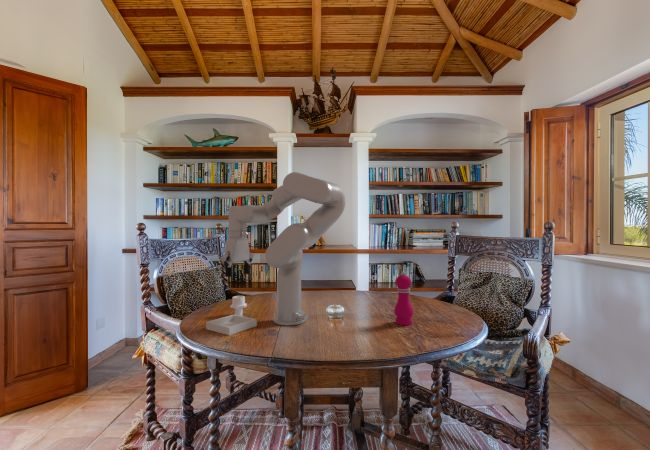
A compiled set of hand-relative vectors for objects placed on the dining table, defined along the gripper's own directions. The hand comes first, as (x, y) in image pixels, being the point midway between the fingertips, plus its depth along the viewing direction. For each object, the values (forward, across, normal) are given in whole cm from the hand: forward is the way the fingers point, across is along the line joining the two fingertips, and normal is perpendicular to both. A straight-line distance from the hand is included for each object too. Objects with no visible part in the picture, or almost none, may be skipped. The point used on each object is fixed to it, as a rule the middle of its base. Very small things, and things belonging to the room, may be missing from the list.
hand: (237, 275), depth 145 cm
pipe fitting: (+17, 0, 0) cm, 17 cm away
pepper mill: (+17, -27, +64) cm, 71 cm away
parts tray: (+17, +13, +12) cm, 24 cm away
